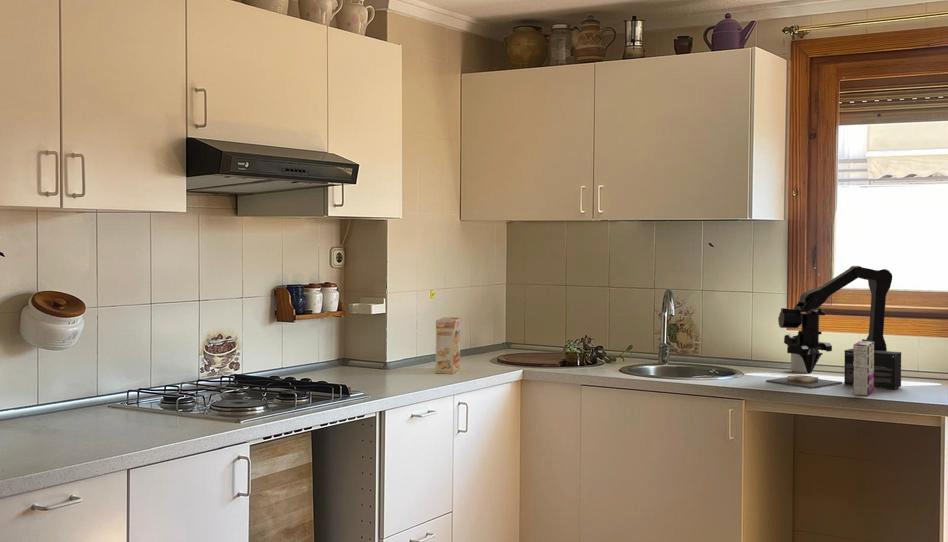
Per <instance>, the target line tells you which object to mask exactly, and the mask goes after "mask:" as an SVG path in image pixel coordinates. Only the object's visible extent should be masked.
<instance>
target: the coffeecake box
mask: <svg viewBox="0 0 948 542" xmlns="http://www.w3.org/2000/svg"><path fill="white" fill-rule="evenodd" d="M461 319H462V318H461V317H454V316H452V317H451V316H450V317H449V316H448V317H442V318H439V319H436V320H435V374H440V375H442V374H444V375H454V374H455V373H457V372H458V371H459V370H460V369H461V324H462V323H461V322H462V320H461Z"/></svg>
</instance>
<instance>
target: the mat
mask: <svg viewBox="0 0 948 542" xmlns="http://www.w3.org/2000/svg"><path fill="white" fill-rule="evenodd" d="M787 378H788V376H787V377H786V376H785V377H780V378H773V379H772V378H771V379H766V380H765V382H766V383H771V382H772V384H778V385H786V386H791V385H792V386H793V387H798V386H799V387H800V388H805V387H806V388H807V389H812V388H813V389H817V388H818V387H819V388H823V387H824V388H825V387H831V386H837V385H842V384H843V382H842V381H839V380H838V381H837V380H829V379H822V378H818V383H812V384H804V383H797V382H790V381H787ZM799 387H798V388H799Z"/></svg>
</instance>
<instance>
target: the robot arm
mask: <svg viewBox="0 0 948 542" xmlns="http://www.w3.org/2000/svg"><path fill="white" fill-rule="evenodd" d="M858 279H862V280H866V281H867V282H868V288H869V291H870V294H871V297H870V309H869V311H870V312H869V326H868V335H867V337H866V339H864V338H862V339H861V341H868V342H874V350H877V351H888V349H887V343H886V340H885V337H884V330H885V316H886V314H885V313H886V300H887V299H886V298H887V294H888V292H889V290H890V288H891V286H892V281H893V274H892V272H891V271H890V270H888V269H886V268H873V269H871V268H867V267H862V266H860V265H852V266H850V267H849V268H848V269H846V270H845V271H843V272H841V273H840V274H838V275H837V276H835V277H834V278H832V279H831V280H829V281H827V282H826V283H824V284H823V285H821V286H817V287H815V288H811V289H809V290H807V291H804V292H803V293H802V294H801V295H800V297H799V301H798V302H797V303H796V304H795V306H794V307H793V308H786V307H783V308H782V307H781V309H780V312H779V314H778V317H777V319H778V320H777V321H778V325H779V326H778V327H779V328H780V329H798V328H799V327H801V329H800V330H798V331H797V335H792V334H790V333H789V334H785V335H784V336H783V337H784V339H783V344H785V345H786V346H787V350H786V353H787V354H791V353H792V354H798V355H800V356H801V357H802V358H803V361H804V364H805V367H806V370H807V373H806V374H812V372H813V371H814V369H815V368H816V367H815V366H816V364H817V363H818V361H819V359H820V358H821V356H823V352H820V351H825V352H833V346H832V344H831V343H830V342H822V341H819V340H820V335H822V331H821V330H820V316H826V312H824V311H823V310H822V308H821V306H822V305H824V303H825V302H826V301H827V300H828V298H829V297H831V296H832V295H833V294H835V293H836V292H838V291H839V290H841V289H843V288H844V287H846V286H847V285H849V284H851V283H853V282H854V281H855V280H858Z"/></svg>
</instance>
